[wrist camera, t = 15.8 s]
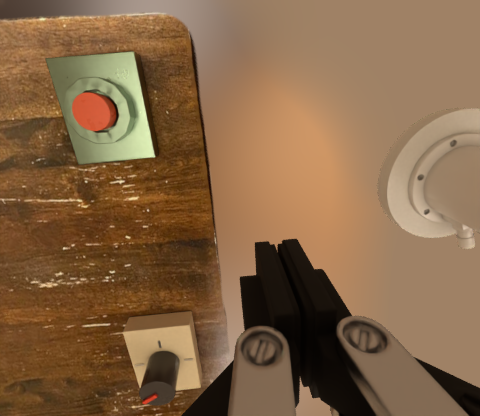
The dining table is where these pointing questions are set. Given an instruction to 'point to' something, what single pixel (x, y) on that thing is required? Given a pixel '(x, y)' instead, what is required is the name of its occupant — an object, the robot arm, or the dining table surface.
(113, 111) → the button
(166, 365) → the knob
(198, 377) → the panel
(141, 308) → the dining table surface
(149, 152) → the button block
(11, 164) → the dining table surface
